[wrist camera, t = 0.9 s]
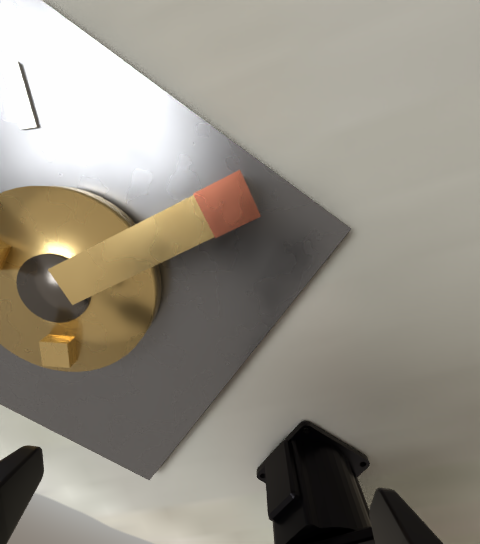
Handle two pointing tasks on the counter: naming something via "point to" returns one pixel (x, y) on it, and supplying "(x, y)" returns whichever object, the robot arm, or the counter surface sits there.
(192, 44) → the counter surface
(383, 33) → the counter surface
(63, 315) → the brass lever handle
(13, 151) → the base plate
